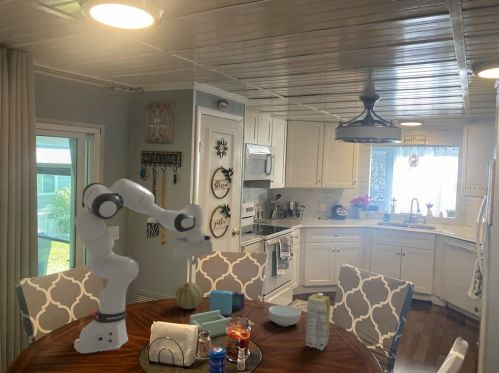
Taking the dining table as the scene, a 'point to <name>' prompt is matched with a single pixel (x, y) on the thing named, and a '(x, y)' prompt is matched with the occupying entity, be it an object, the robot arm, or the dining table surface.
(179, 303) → the cantaloupe
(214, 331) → the box
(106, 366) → the dining table surface
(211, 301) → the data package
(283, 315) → the cereal bowl
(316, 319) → the juice carton
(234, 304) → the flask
